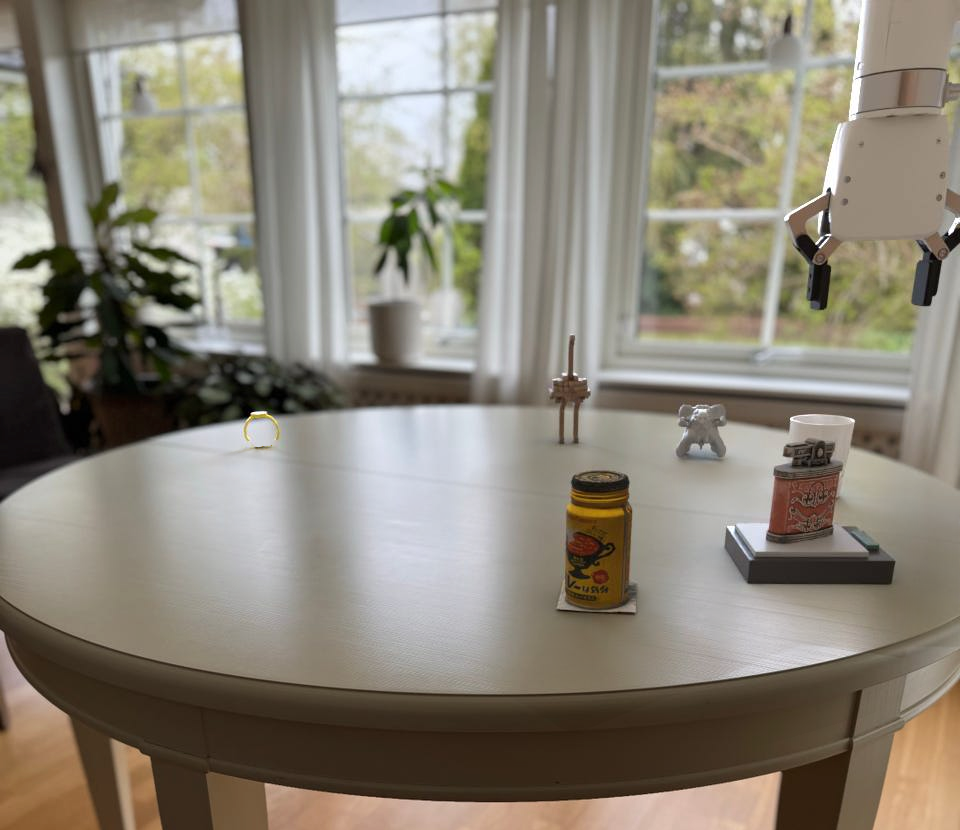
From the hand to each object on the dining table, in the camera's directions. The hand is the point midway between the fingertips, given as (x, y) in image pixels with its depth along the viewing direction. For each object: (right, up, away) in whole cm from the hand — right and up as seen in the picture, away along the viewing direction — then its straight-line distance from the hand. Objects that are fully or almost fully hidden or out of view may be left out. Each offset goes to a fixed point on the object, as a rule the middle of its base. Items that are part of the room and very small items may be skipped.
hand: (869, 307), depth 85 cm
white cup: (+7, -13, +34) cm, 37 cm away
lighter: (-4, -22, +7) cm, 23 cm away
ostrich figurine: (-22, +4, +74) cm, 78 cm away
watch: (-76, +2, +70) cm, 103 cm away
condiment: (-26, -28, 0) cm, 38 cm away
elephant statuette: (-2, -2, +59) cm, 59 cm away
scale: (-4, -24, +8) cm, 26 cm away
